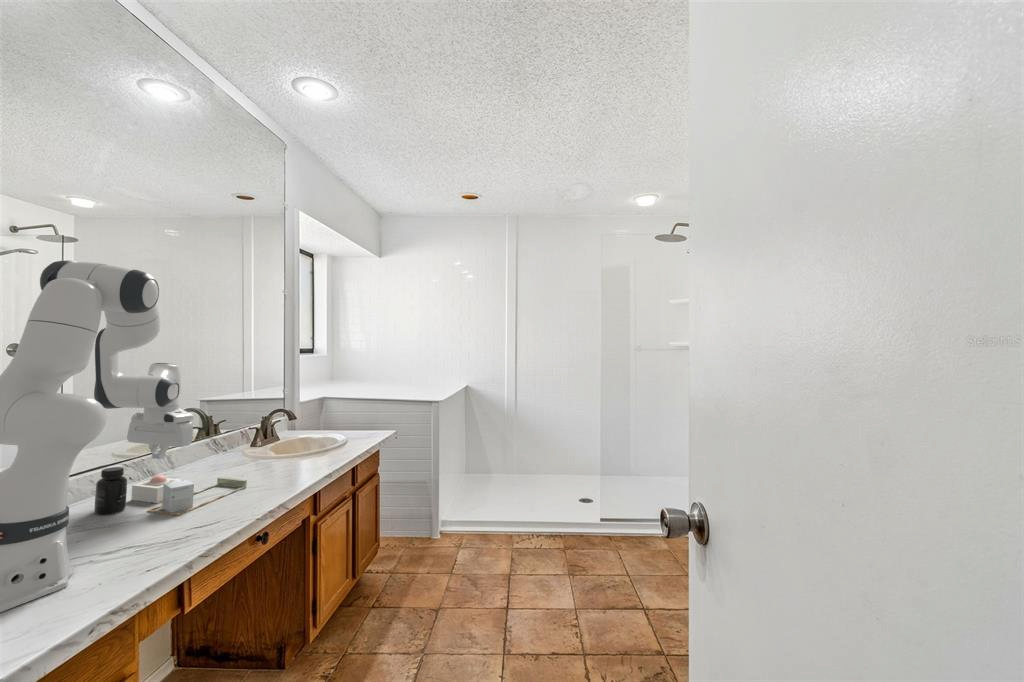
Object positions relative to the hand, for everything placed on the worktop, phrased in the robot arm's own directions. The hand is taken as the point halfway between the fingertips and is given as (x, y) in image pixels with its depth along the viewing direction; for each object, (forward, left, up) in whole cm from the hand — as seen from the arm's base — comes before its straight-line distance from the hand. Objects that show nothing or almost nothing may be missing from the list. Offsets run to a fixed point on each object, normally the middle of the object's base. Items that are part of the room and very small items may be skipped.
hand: (158, 458), depth 144 cm
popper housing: (+1, 0, -12) cm, 12 cm away
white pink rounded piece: (+1, 0, -12) cm, 12 cm away
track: (+3, -13, -12) cm, 18 cm away
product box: (-5, -13, -12) cm, 19 cm away
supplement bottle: (-12, +2, -12) cm, 18 cm away
